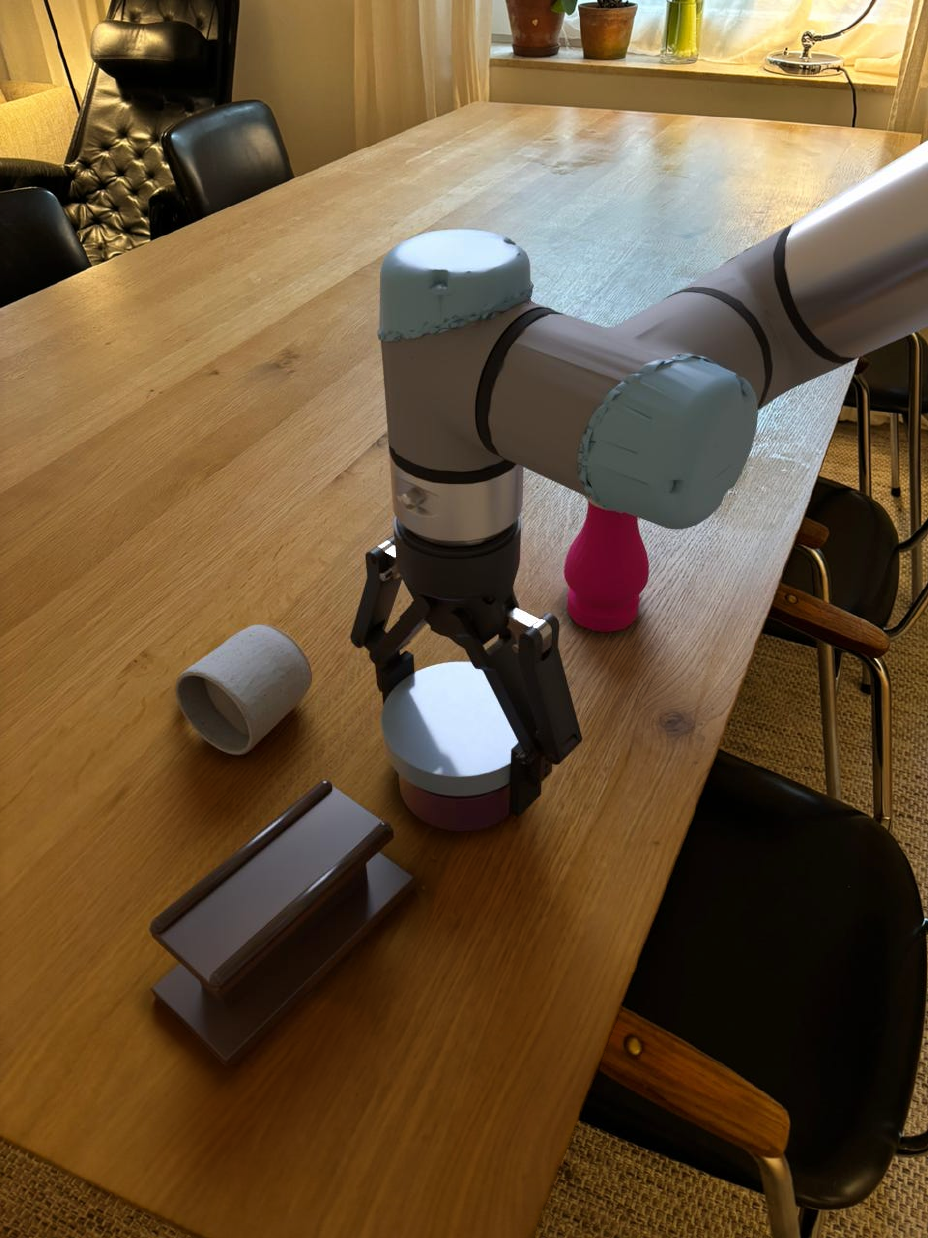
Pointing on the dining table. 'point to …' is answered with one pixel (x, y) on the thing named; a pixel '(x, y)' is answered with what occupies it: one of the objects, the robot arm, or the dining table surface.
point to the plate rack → (276, 919)
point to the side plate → (448, 731)
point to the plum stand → (456, 807)
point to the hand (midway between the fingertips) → (460, 763)
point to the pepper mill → (606, 570)
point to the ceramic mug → (244, 687)
